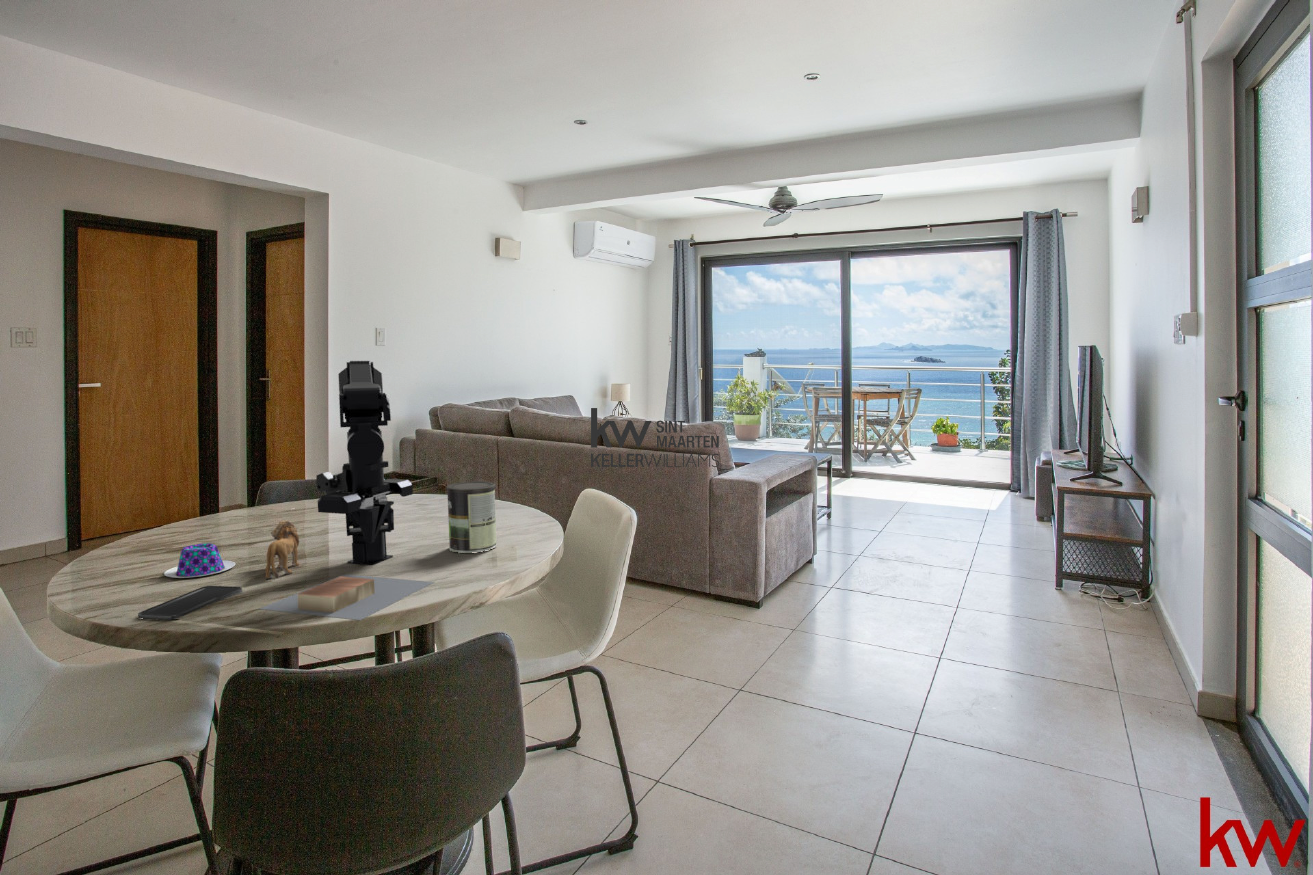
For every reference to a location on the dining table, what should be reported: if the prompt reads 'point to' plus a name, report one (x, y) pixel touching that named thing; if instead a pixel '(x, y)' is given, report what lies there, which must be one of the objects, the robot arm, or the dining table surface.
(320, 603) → the maple tile
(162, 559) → the dining table surface
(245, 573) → the dining table surface
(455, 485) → the coffee can
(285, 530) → the lion figurine
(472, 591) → the dining table surface
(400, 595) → the rubber mat
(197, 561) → the purple patterned hat
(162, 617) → the phone
